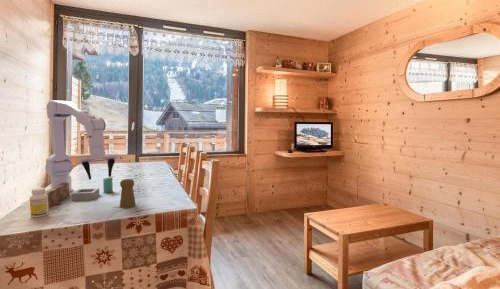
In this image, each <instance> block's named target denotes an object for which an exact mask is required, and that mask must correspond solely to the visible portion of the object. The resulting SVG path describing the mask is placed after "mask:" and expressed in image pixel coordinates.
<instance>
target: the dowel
mask: <svg viewBox="0 0 500 289" xmlns="http://www.w3.org/2000/svg"><path fill="white" fill-rule="evenodd" d="M102 183H103V184H102V185H103V186H102V187H103V194H112V193H113V192H114V189H113V187H114V186H113V185H114V184H113V177H112V176H111V177H109V176H108V177H107V176H106V177H103V179H102Z"/></svg>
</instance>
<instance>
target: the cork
mask: <svg viewBox="0 0 500 289" xmlns="http://www.w3.org/2000/svg"><path fill="white" fill-rule="evenodd" d="M134 185H135V181H134V180H133V179H132V178H124V179H121V180H120V183H119V186H120V187H121V190H120V192H121V193H120V201H119V208H121V209H131V207H132V208H135V207H136V206H137V204H136V198H135V192H134ZM134 206H135V207H134Z"/></svg>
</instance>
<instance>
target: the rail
mask: <svg viewBox="0 0 500 289" xmlns="http://www.w3.org/2000/svg"><path fill="white" fill-rule="evenodd" d="M45 194H47V195H48V205H49V209H50V208H52V207H53V206H54V205H56V204H58V203H59V202H61V201H62V200H63V201H64V199H66V198H68V197H69V196H70V192H69V183H61V184H59V185H57V186H55V187H53V188H51V187H50V188H49V189H47V190H45Z"/></svg>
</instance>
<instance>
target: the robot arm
mask: <svg viewBox="0 0 500 289" xmlns="http://www.w3.org/2000/svg"><path fill="white" fill-rule="evenodd" d="M46 115H47V116H46V117H47V119H49V124H50V125H49V126H50V138H51V139H50V140H51V151H52V154H51V155H50V156H48V157H47V158H45V159H46V160H45V167H44V168H45V169H44V170H45V172H46V173H47V175H48V176H50V189H51V188H53V187H55V186H57V185H59V184H61V183H69V193H71V192H72V191H74V190H75V189H74V188H73V187H72V176H71V175H70V174H71V172H72V170H73V169H74V168H73V162H72V158H71V156H69V155H67V154H66V144H65V131H64V121H65V119H68V118H70V117H71V116H73V117H75V120H76V121H77V123H79V124H80V125H81V126H83V128H84V130H85V131H86V136H87V137H88V144H89V155H90V157H82V158H81V157H80V158H78V164H81V165H82V167H83V168H84V170H85V172H86V174H87V177H88V180H92V175H91V166H90V165H91V164H90V163H94V162H103V161H104V162H105V161H106V162H107V169H108V170H107V171H108V172H107V174H108V175H107V176H108V177H112V171H113V168H114V165H115V162H116V160H117V159H118V156H117V154H113V155H106V149H105V138H104V132H105V130H106V127H107V126H106V122H105V120H104V119H103V118H101V117H100V118H97V117H96V116H95V115H92V114H91V113H89V110H81V109H80V108H79V107H78V106H76V103H75V102H73V101H71V100H69V101H68V100H54V99H51V100H49V101H48V102H47V104H46Z"/></svg>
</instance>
